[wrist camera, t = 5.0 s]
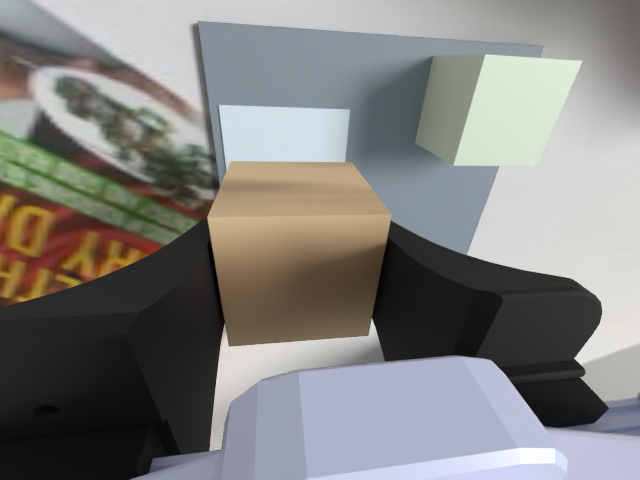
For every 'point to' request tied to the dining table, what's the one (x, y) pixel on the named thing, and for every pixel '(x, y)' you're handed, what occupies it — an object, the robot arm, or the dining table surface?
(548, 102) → the sage block
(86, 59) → the dining table surface
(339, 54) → the slate board
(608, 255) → the dining table surface
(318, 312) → the oak block
